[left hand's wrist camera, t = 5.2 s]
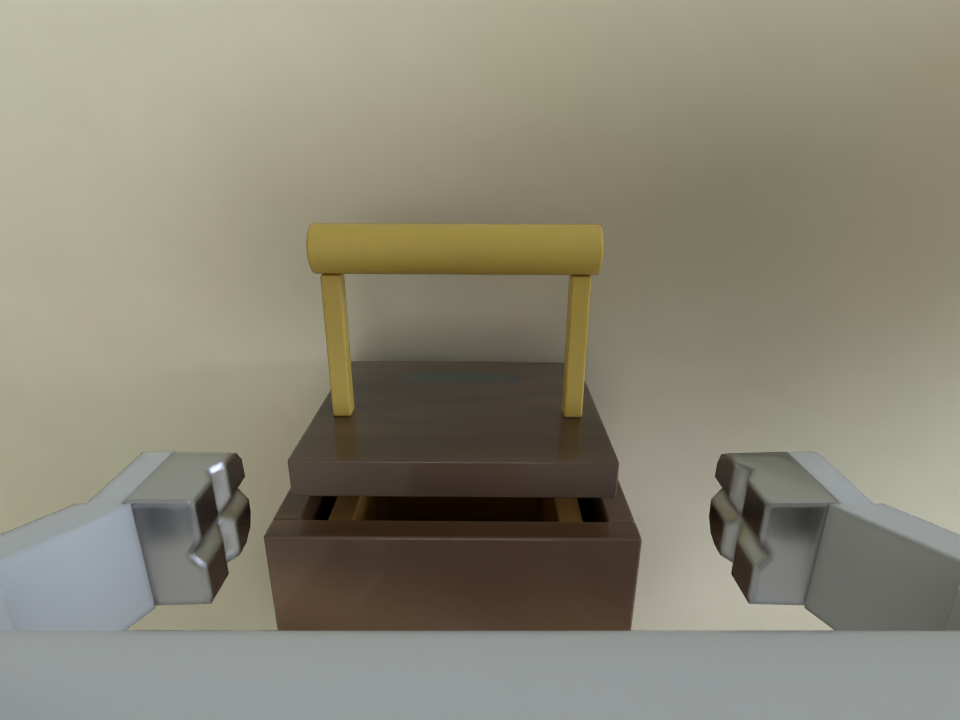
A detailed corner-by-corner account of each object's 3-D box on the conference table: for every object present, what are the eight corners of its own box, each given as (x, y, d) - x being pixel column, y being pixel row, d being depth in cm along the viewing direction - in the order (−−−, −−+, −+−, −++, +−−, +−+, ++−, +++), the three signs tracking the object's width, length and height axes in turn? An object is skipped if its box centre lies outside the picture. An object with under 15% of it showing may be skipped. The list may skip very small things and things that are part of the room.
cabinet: (342, 394, 25) (262, 536, 16) (585, 395, 25) (642, 539, 16) (362, 634, 30) (310, 849, 21) (568, 636, 30) (604, 851, 21)
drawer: (335, 206, 22) (258, 240, 14) (587, 207, 22) (641, 241, 14) (367, 601, 28) (325, 765, 21) (561, 602, 28) (589, 767, 21)
